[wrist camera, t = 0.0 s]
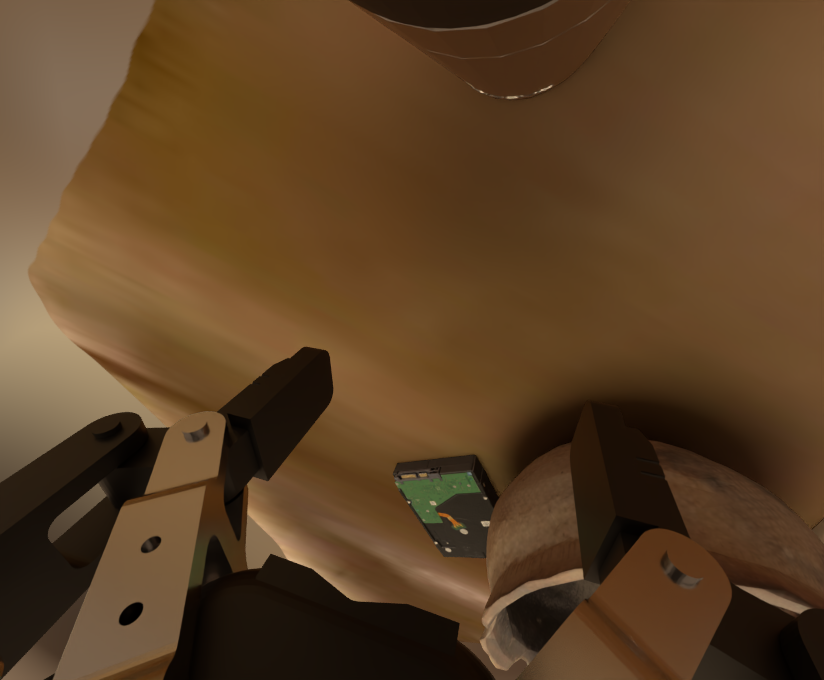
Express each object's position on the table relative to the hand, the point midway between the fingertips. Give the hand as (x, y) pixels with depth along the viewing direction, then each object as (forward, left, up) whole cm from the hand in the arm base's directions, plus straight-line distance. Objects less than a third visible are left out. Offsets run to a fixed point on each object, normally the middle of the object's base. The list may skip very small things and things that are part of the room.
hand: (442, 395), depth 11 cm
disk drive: (+31, 0, -18) cm, 36 cm away
